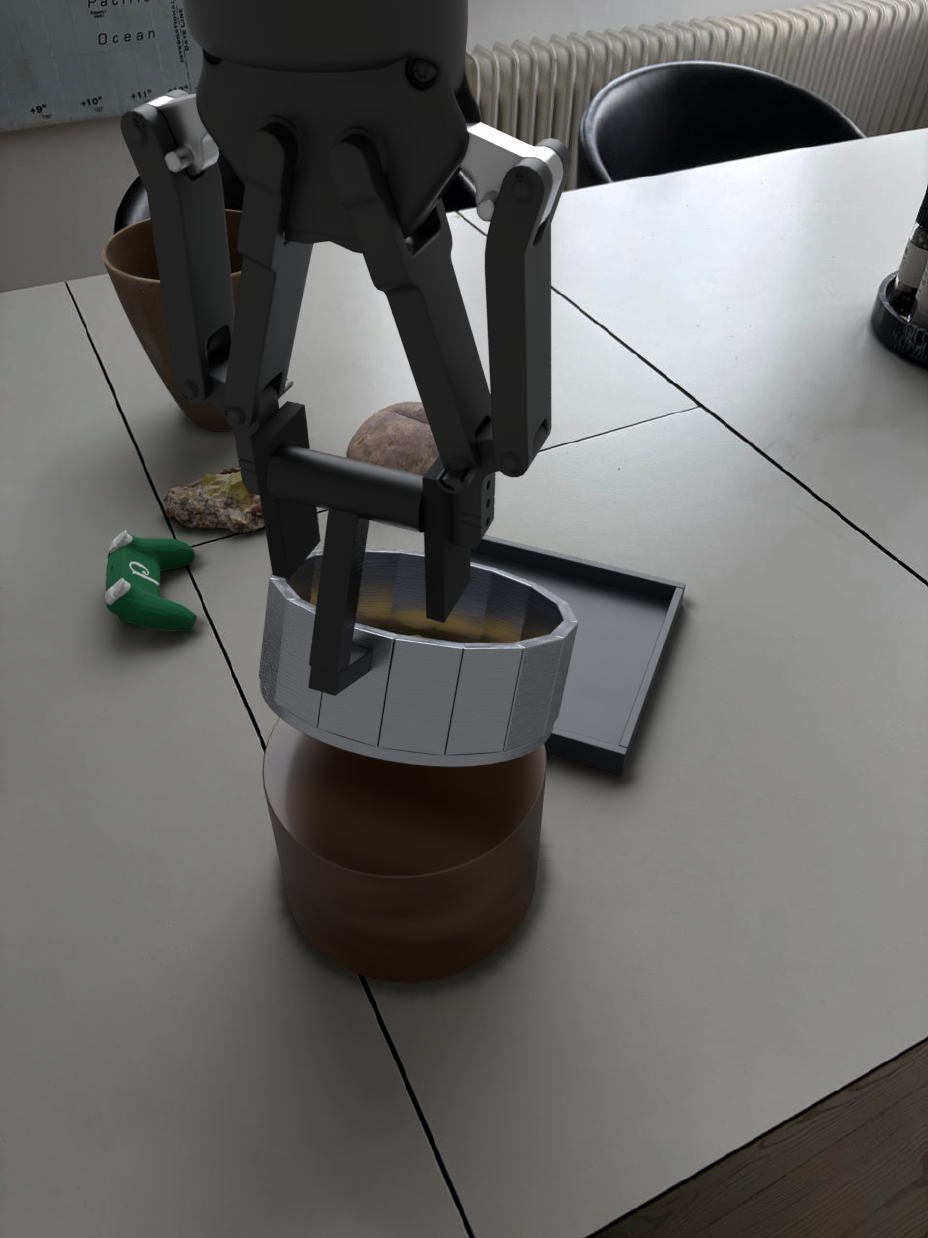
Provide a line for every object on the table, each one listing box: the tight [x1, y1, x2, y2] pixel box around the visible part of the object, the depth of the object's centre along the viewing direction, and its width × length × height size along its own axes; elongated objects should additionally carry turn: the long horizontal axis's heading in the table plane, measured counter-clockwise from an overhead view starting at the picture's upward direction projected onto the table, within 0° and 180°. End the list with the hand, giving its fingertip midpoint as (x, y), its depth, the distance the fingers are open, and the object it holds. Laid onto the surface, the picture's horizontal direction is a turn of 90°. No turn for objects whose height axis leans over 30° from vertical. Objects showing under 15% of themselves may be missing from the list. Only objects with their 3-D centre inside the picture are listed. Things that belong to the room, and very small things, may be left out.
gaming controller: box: [104, 529, 198, 632], centre depth 74 cm, size 9×4×6 cm
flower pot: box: [101, 208, 243, 432], centre depth 89 cm, size 15×15×16 cm
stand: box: [261, 717, 548, 984], centre depth 54 cm, size 14×14×10 cm
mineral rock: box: [163, 466, 265, 534], centre depth 82 cm, size 11×4×8 cm
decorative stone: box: [345, 401, 439, 476], centre depth 85 cm, size 12×12×6 cm
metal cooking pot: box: [258, 444, 578, 767], centre depth 46 cm, size 18×14×13 cm
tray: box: [471, 534, 687, 776], centre depth 70 cm, size 17×19×2 cm
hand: (371, 577), depth 40 cm, fingers closed on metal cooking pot, 6 cm apart
